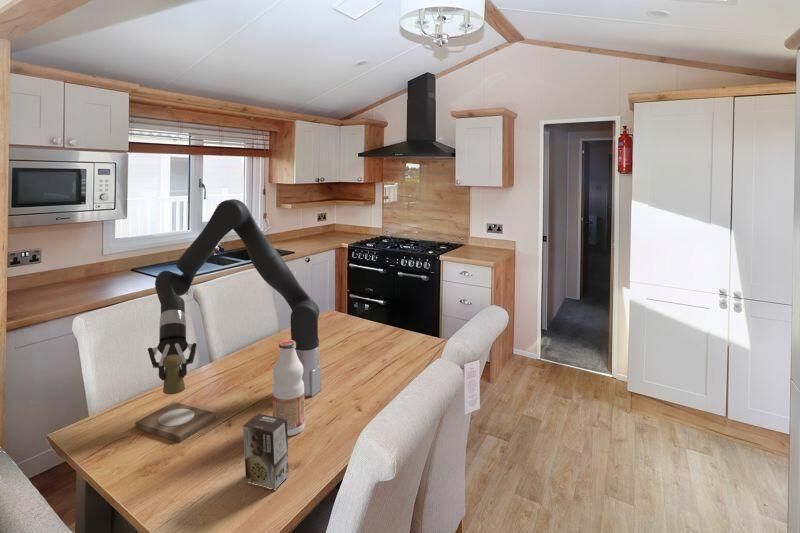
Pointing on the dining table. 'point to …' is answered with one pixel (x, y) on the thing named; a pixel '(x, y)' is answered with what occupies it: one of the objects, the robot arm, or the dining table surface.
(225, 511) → the dining table surface
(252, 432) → the coffee box
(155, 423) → the walnut board
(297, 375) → the fruit juice
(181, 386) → the cork
